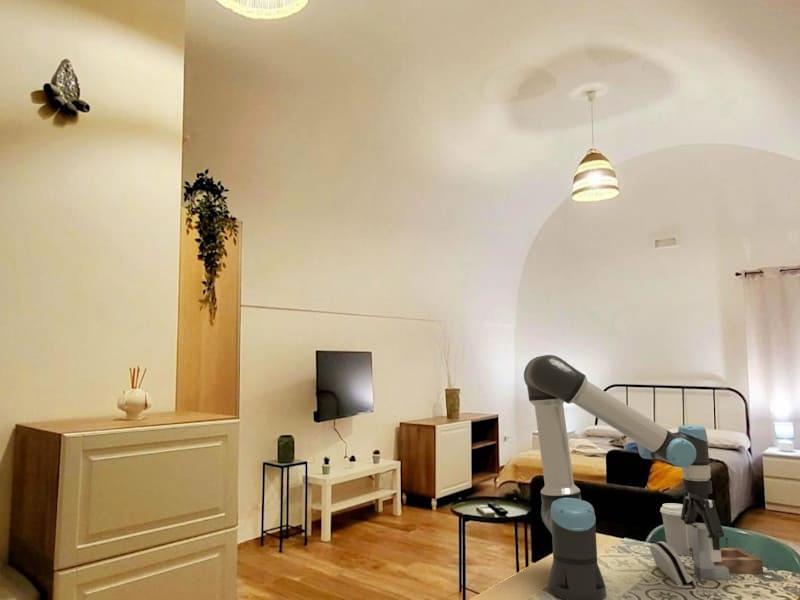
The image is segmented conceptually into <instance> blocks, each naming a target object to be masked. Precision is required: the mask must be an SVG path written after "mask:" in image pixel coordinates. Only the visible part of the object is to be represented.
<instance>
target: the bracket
mask: <svg viewBox="0 0 800 600" xmlns="http://www.w3.org/2000/svg"><path fill="white" fill-rule="evenodd" d="M708 535H709V532H708V530H707V527H706V525H705V524H704V525H703V524H695V525H691V536H692V549H693V561H694V562H693V561H692V562H693V572H694V576H695V575H696V576H695V577H697V578H698V579H699V580H701V579H702V580H703V579H711V581H713V580H714V581H719V580H720V581H724V580H725V581H726V580H727V581H729V580H731V579H730V574H729V569H728V568H727V567H725V566H723V565H722V564H714V562H711V559H710V549H709V539H708ZM702 580H701V581H702ZM703 581H704V580H703Z"/></svg>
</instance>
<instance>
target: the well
mask: <svg viewBox="0 0 800 600" xmlns="http://www.w3.org/2000/svg"><path fill="white" fill-rule="evenodd" d="M720 548H721V558H722V562H714V564H722V565H723V566H725V567H727V568H728V569H729V575H730V574H733V575H734V574H735V575H736V574H737V575H738V574H739V575H741V574H743V575H745V574H746V575H747V574H748V575H749V574H757V575H758V574H762V575H763V574H764V565H763V559H761V558H759V557H757V556H755V555H754V554H751V553H749V552H748V551H746V550H744V549H742V548H740V547H720ZM690 554H691V561H692V560H693V549H692V548H690Z"/></svg>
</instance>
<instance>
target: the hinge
mask: <svg viewBox="0 0 800 600" xmlns="http://www.w3.org/2000/svg"><path fill="white" fill-rule="evenodd" d="M648 548H649V550H650V554H651V556H652V558H653V561H654V563H655V566H656V565H657V566H658V567H659V568H660V569H661V570H662V571H663V574H665V576H667V575H668V576H669V577H670V578H671V579H670V578H669V577H668V576H667V577H668V578H669V579H670V580H671V581H672V582H674V583H675V584H676V583H677V584H678V585H677V586H679V585H680V586H683V584H684V583H687V584H689V583H691V584H692V583H693V584H692V585H693V586H695V585H696V586H697V583H696V581H695V579H694V578H693V577H691V575H689V574H688V572H687V570H686V568H685V566H684V563H683V561H682V559H681V556H678V554H677V553H676V552H675V551H674V550H673V549H672V548H671V547H670V546H669V545H668V544H667V542H665V541H657V542H656V543H651V544H650V545H649V546H648ZM657 566H656V567H657ZM658 567H657V568H658ZM659 568H658V569H659ZM660 569H659V570H660ZM661 570H660V571H661ZM662 571H661V572H662Z"/></svg>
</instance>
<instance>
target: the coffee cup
mask: <svg viewBox="0 0 800 600" xmlns="http://www.w3.org/2000/svg"><path fill="white" fill-rule="evenodd" d="M682 507H683V503H673V502H670V503H669V502H668V503H663V504H662V506H661V507H660V510H659V512H660V513H661V516H662V522H663V523H662V524H663V528H664V535H665V541H666V542H665V543H667V544H668V545H669V546H670V547H671V548H672V549H673V550H674V551H675V552H676V553H677V554H679V555H688V554H691V548H689V547H688V546H687V535H686V524H685V523H684V520H682V519H681V514H682ZM685 516H686V515H685ZM688 556H689V555H688Z"/></svg>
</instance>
